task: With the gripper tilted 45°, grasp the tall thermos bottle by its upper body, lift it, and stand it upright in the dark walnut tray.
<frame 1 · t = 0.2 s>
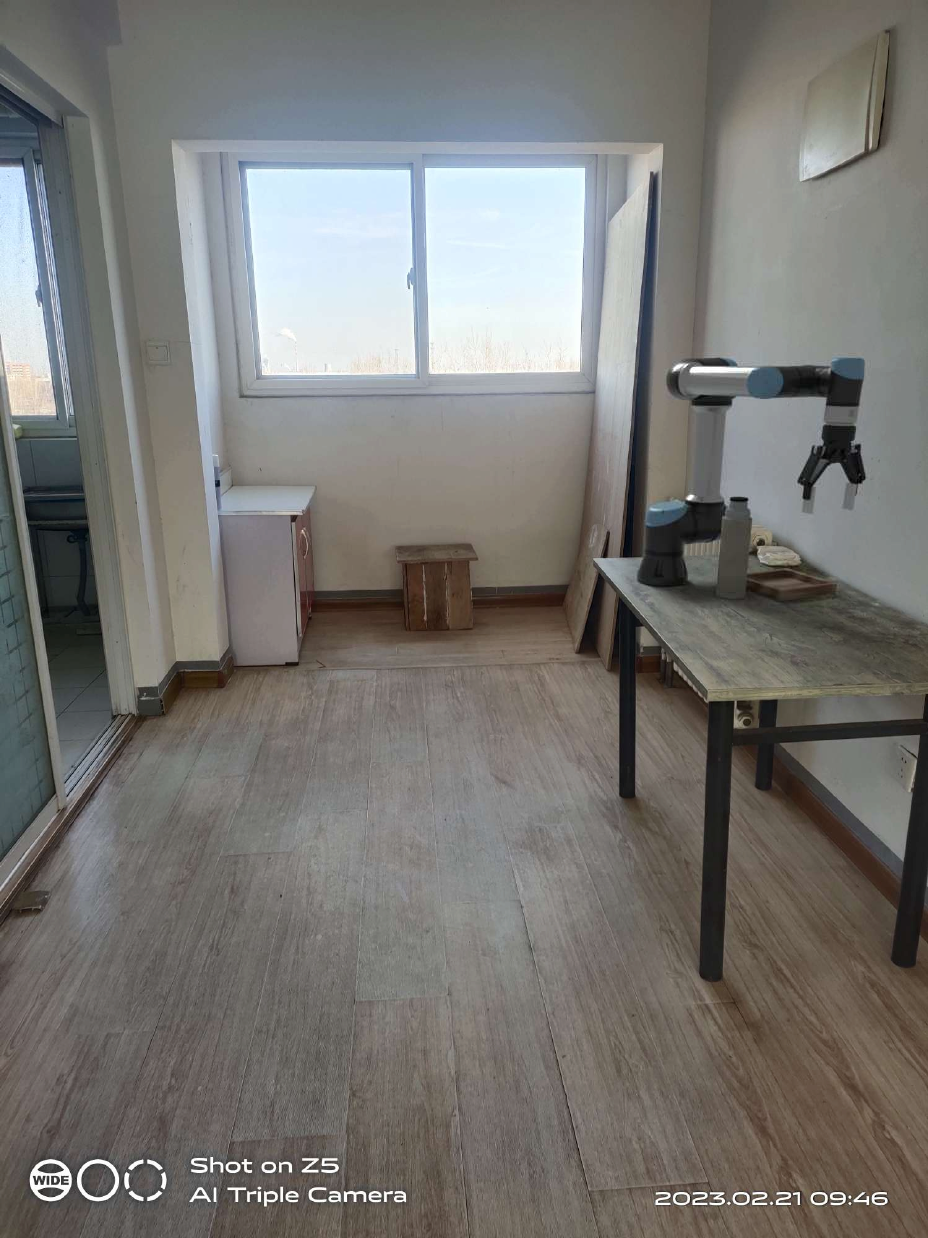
hand: (827, 511, 209), 28 cm above the table, tool pointing down, fingers open, 13 cm apart
thermos bottle: (730, 595, 238), on the table
walnut tray: (783, 589, 244), on the table
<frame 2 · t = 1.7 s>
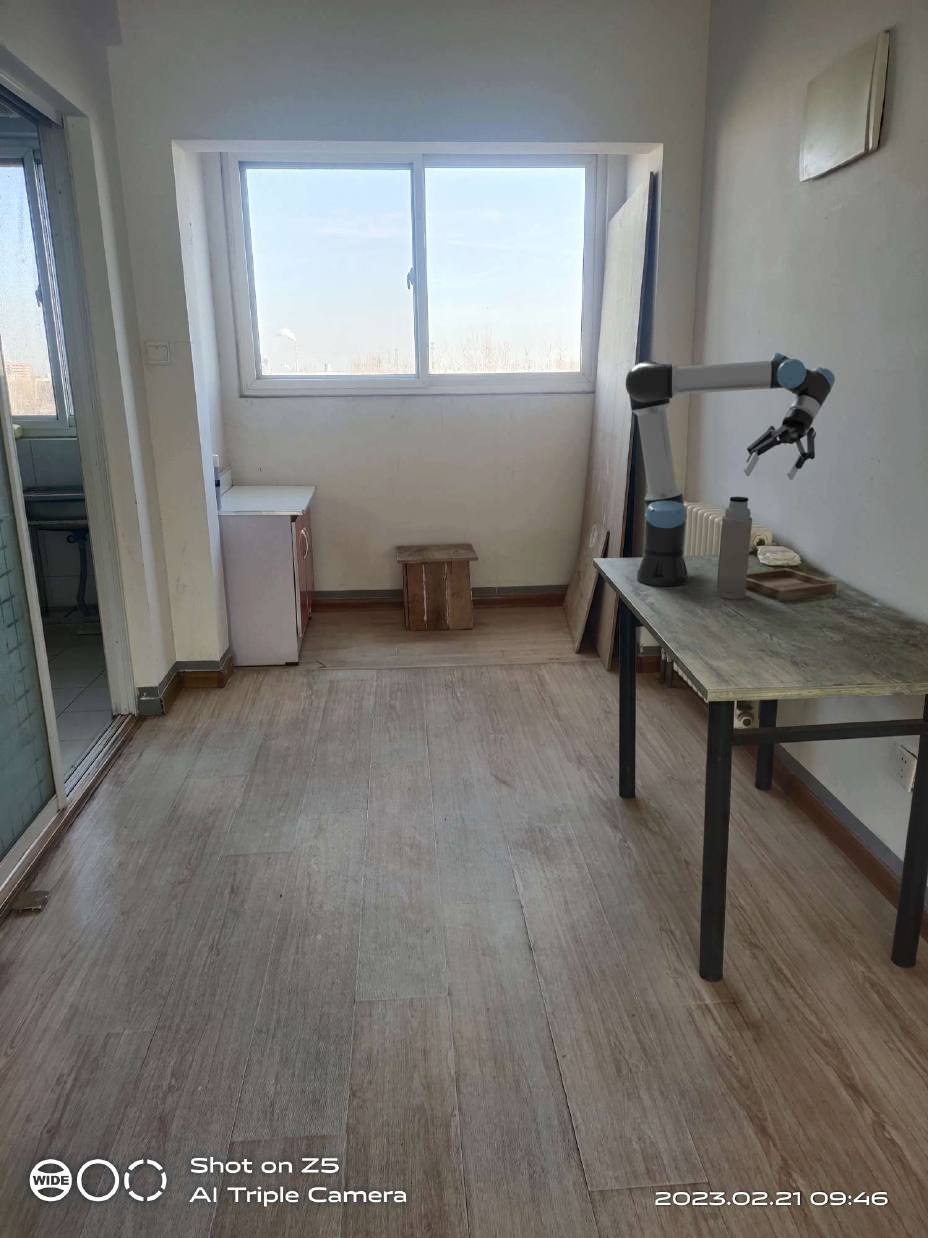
hand: (767, 474, 235), 33 cm above the table, tool tilted 45°, fingers open, 13 cm apart
nothing on the table moved.
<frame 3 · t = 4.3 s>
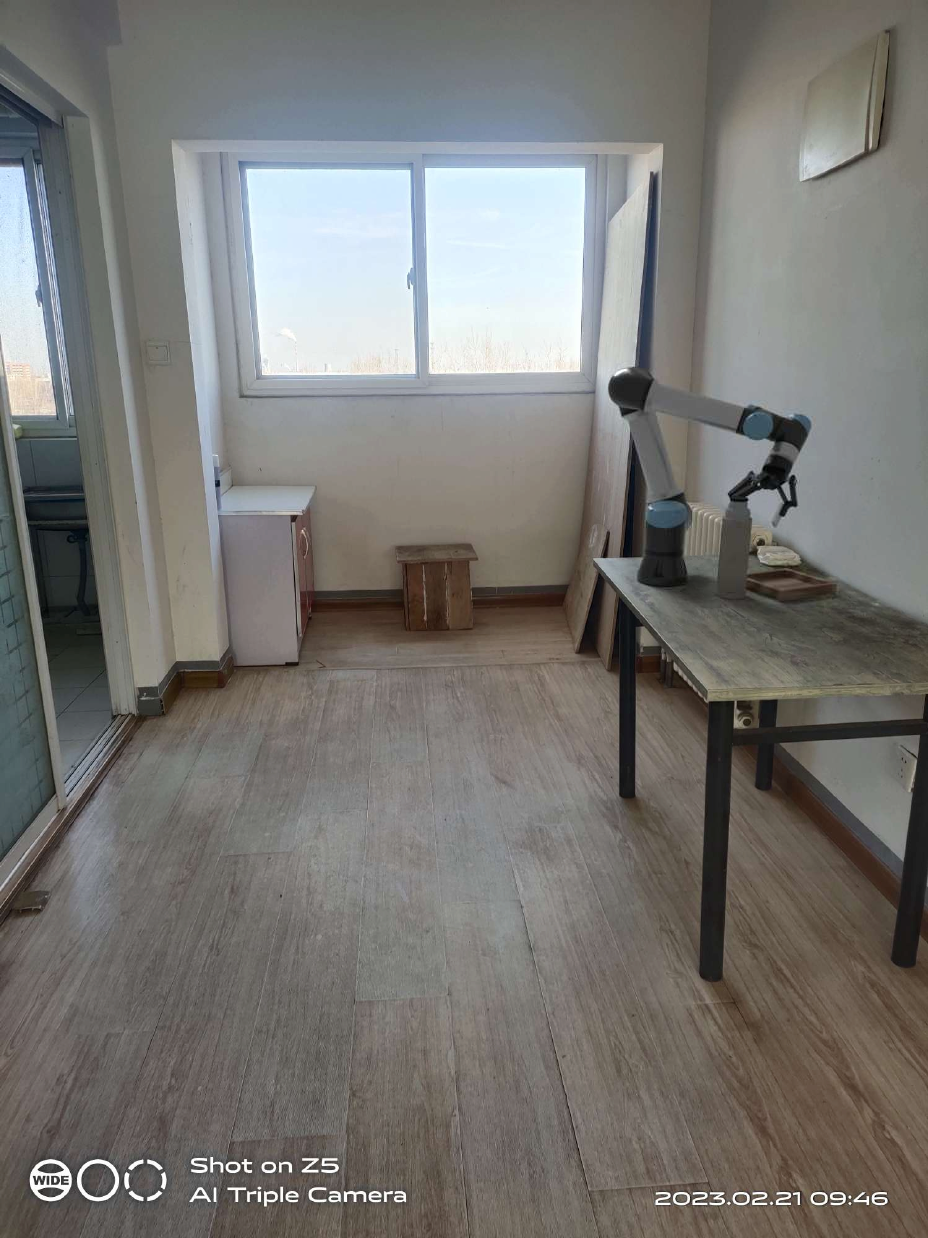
hand: (750, 521, 235), 21 cm above the table, tool tilted 45°, fingers open, 13 cm apart
nothing on the table moved.
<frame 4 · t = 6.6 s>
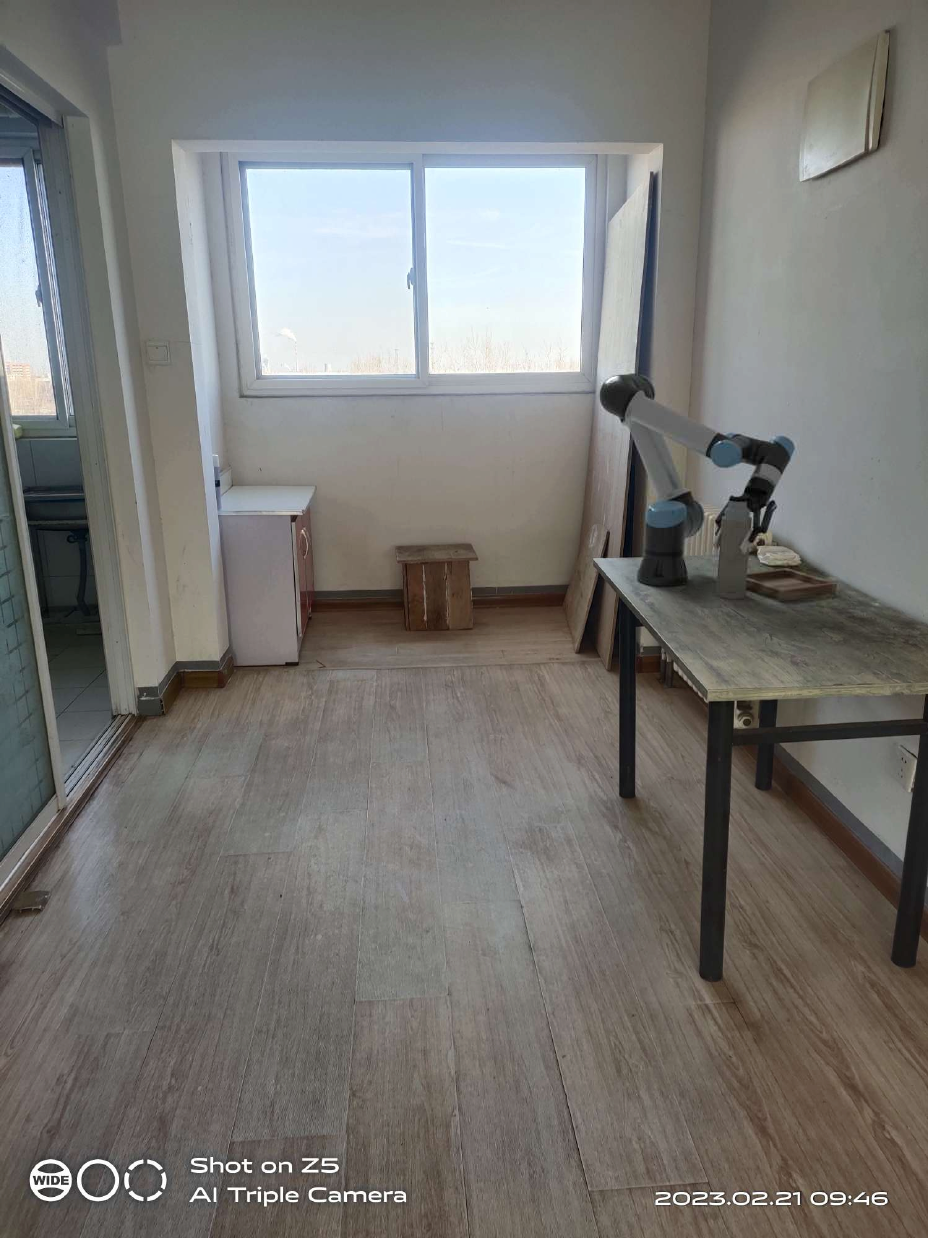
hand: (728, 548, 232), 14 cm above the table, tool tilted 45°, fingers closed on thermos bottle, 8 cm apart
thermos bottle: (730, 595, 238), on the table, touching gripper
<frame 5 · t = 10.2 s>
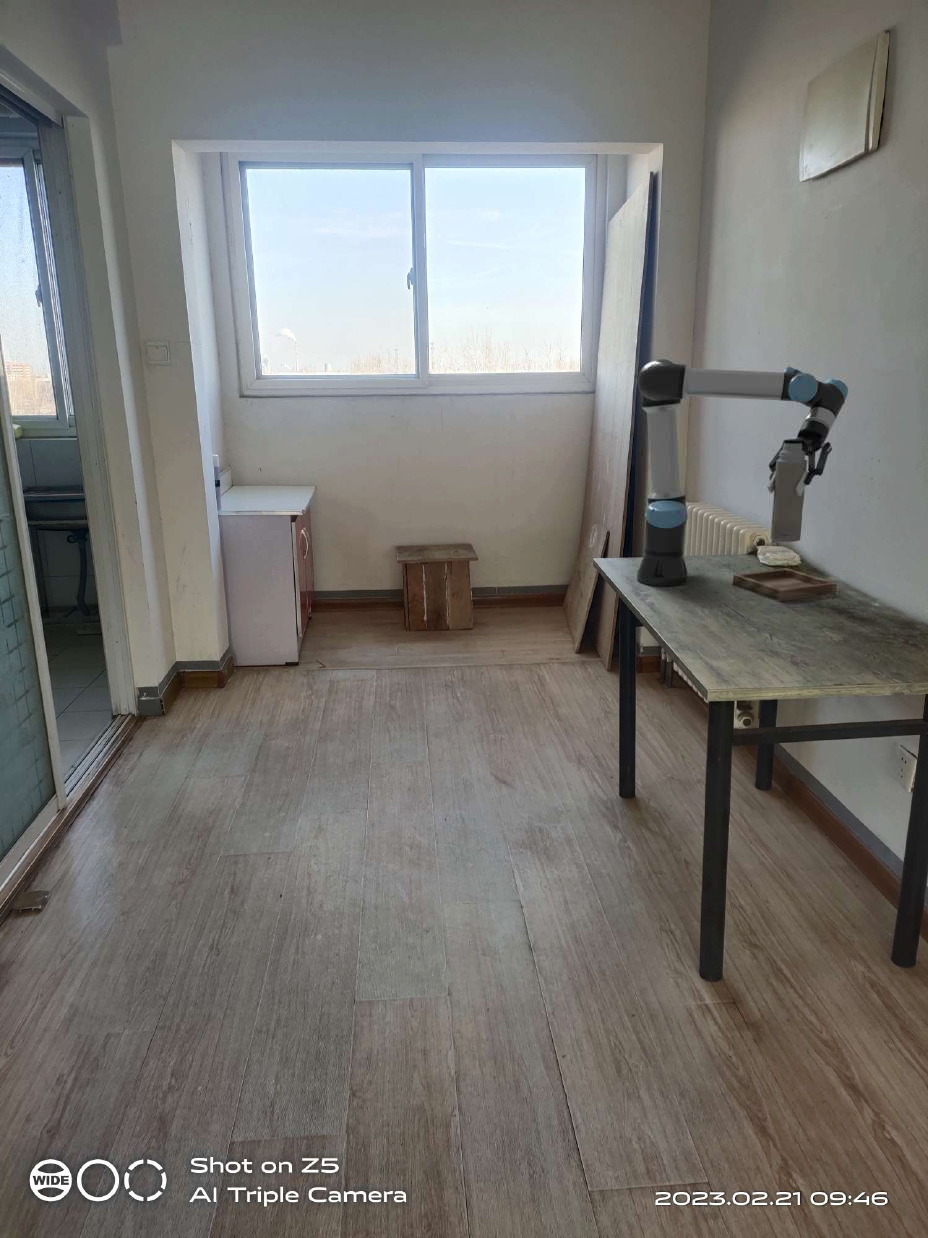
hand: (783, 491, 232), 29 cm above the table, tool tilted 45°, fingers closed on thermos bottle, 8 cm apart
thermos bottle: (785, 539, 239), point 15 cm above the table, touching gripper
when the fingers open (17 cm above the table, at t = 13.7 s): thermos bottle drops 1 cm, resting on walnut tray.
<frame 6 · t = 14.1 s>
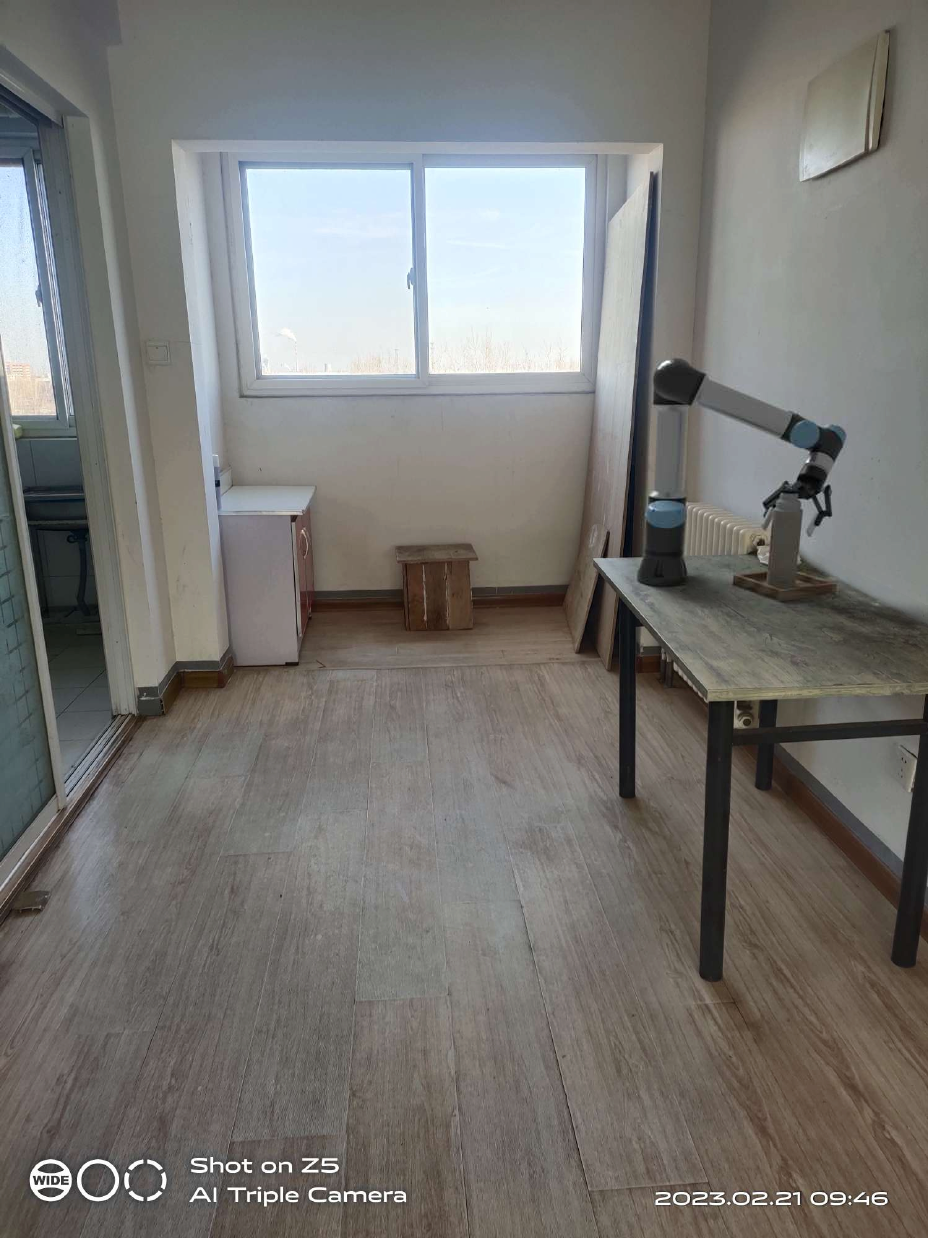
hand: (785, 530, 237), 18 cm above the table, tool tilted 45°, fingers open, 13 cm apart
thermos bottle: (780, 585, 244), point 1 cm above the table, touching walnut tray
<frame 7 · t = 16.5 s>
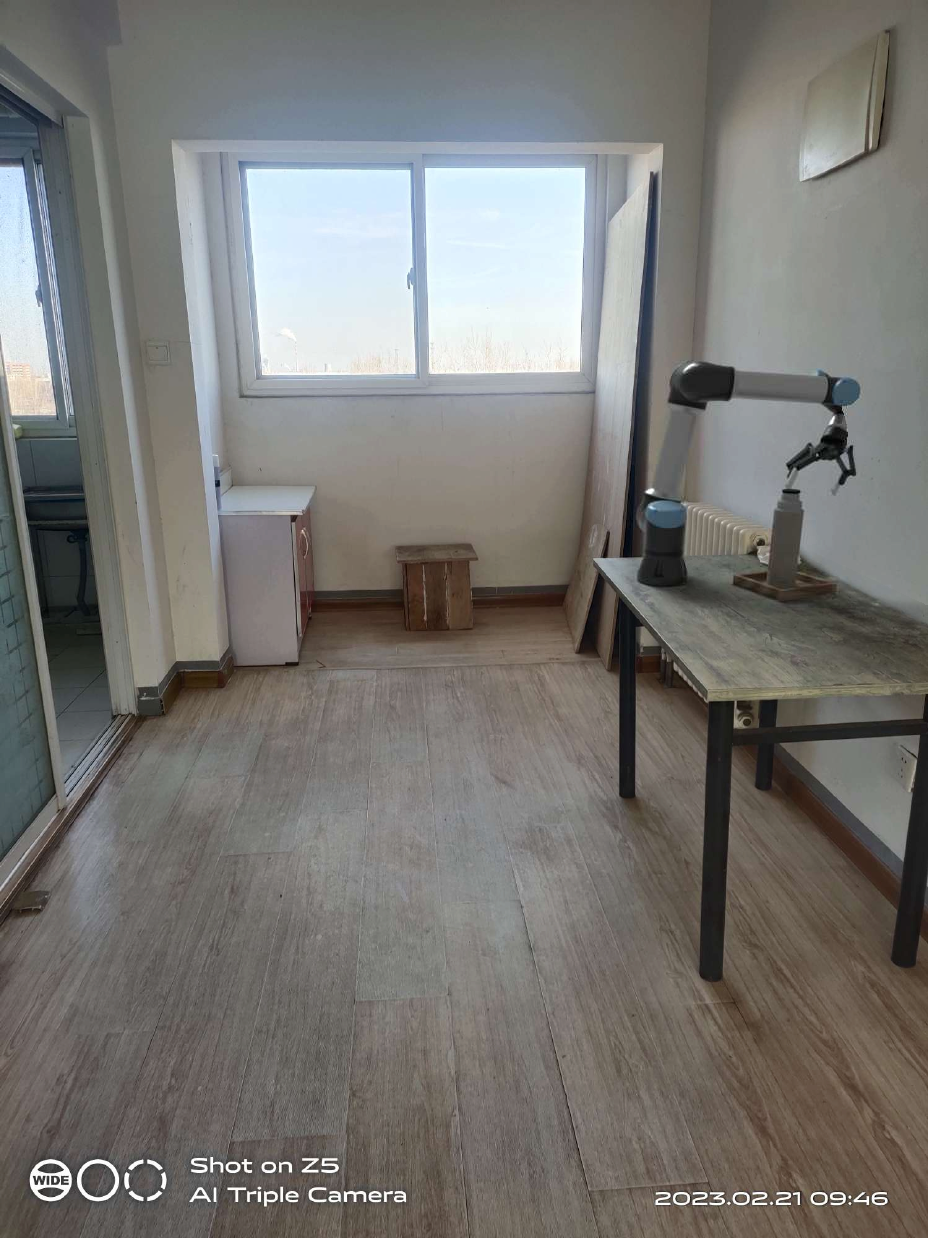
hand: (809, 490, 243), 28 cm above the table, tool tilted 45°, fingers open, 13 cm apart
nothing on the table moved.
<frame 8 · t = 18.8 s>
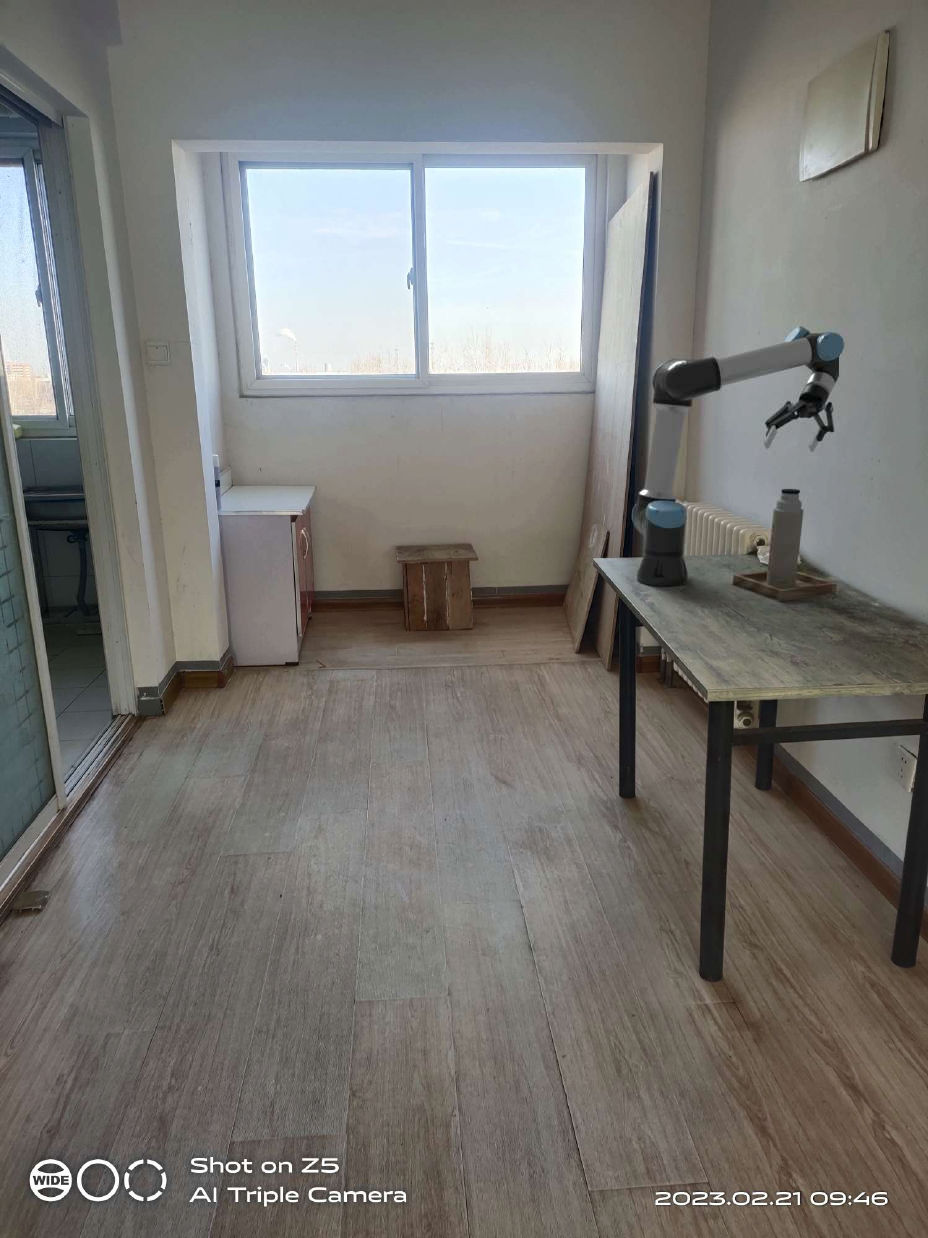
hand: (787, 447, 243), 40 cm above the table, tool tilted 45°, fingers open, 13 cm apart
nothing on the table moved.
at the end: thermos bottle inside the target area on the walnut tray (0.9 cm from its centre), point 0.8 cm above the walnut tray's base; thermos bottle tilted 0°; the gripper is holding nothing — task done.
